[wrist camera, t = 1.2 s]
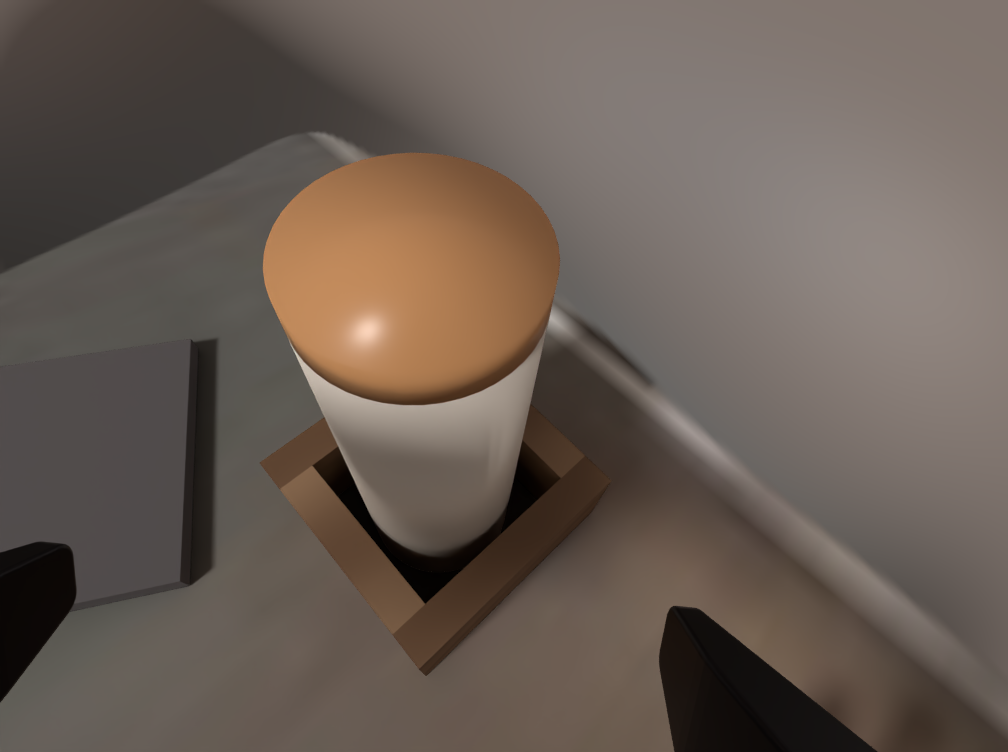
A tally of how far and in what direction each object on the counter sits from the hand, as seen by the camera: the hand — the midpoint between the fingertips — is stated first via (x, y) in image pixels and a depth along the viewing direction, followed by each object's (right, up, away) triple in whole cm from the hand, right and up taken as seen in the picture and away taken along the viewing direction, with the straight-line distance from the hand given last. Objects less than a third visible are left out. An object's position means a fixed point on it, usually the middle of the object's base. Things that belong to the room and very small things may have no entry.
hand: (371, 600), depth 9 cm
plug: (0, -2, +13) cm, 13 cm away
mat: (-15, 0, +13) cm, 20 cm away
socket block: (0, -2, +13) cm, 13 cm away
